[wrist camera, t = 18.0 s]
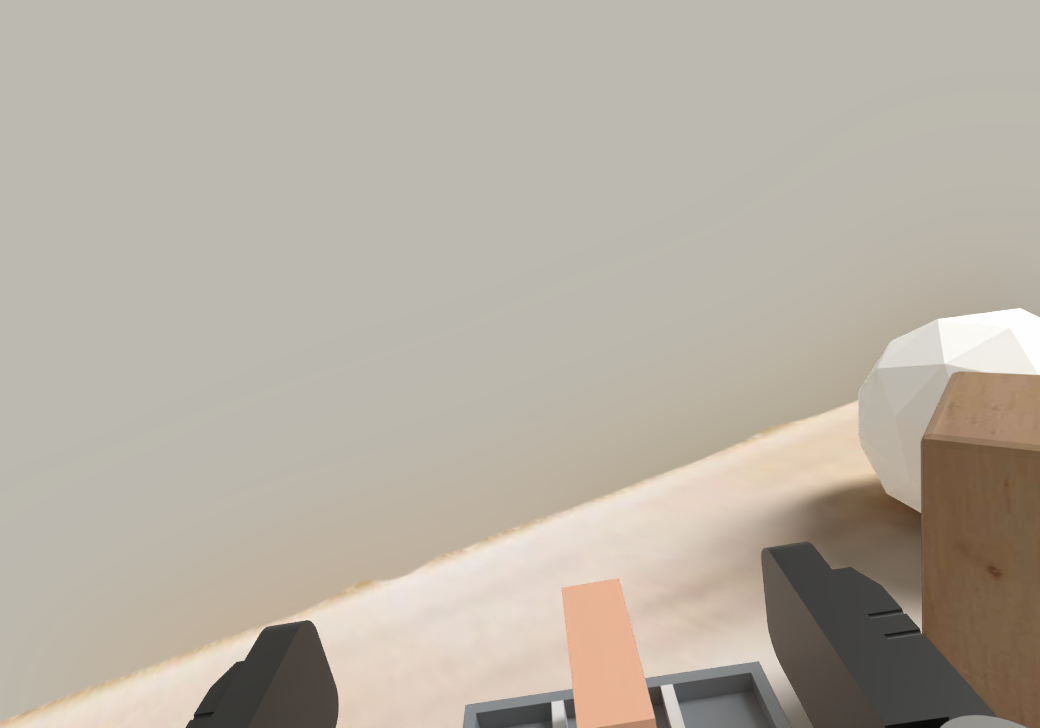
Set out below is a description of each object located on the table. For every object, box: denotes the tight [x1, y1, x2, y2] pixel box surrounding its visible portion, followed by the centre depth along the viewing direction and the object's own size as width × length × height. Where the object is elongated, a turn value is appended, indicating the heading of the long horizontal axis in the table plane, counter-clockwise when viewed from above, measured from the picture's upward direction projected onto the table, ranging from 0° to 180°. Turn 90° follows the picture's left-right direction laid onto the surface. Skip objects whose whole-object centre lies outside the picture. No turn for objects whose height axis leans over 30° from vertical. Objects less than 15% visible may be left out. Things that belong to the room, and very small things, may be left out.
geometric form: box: [859, 308, 1040, 513], centre depth 51 cm, size 18×19×23 cm
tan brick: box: [562, 578, 657, 728], centre depth 33 cm, size 10×4×11 cm, turn 0°
